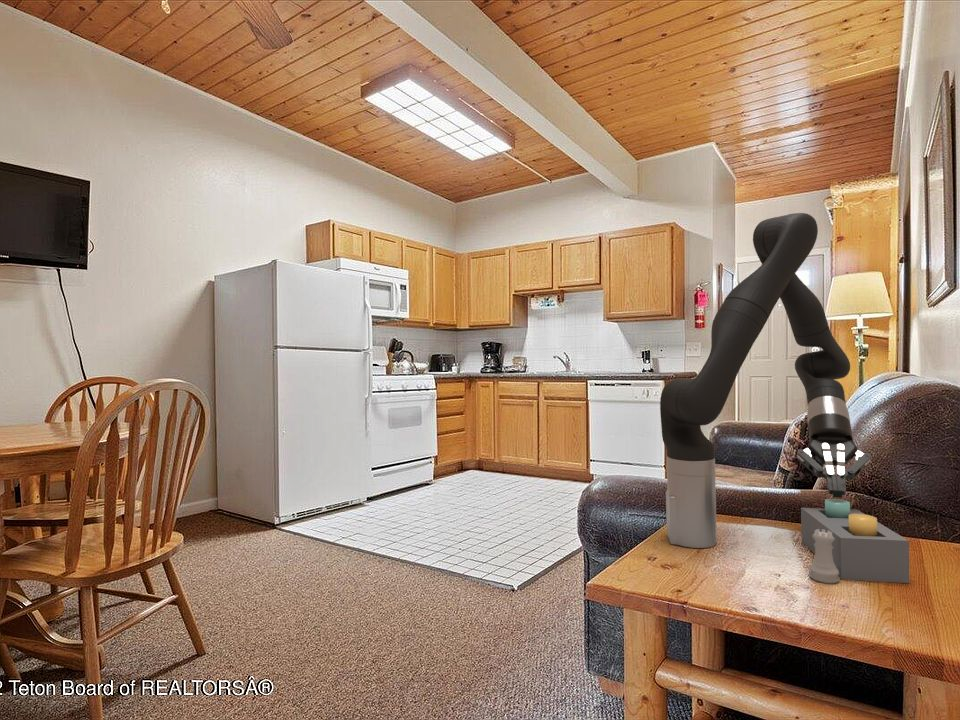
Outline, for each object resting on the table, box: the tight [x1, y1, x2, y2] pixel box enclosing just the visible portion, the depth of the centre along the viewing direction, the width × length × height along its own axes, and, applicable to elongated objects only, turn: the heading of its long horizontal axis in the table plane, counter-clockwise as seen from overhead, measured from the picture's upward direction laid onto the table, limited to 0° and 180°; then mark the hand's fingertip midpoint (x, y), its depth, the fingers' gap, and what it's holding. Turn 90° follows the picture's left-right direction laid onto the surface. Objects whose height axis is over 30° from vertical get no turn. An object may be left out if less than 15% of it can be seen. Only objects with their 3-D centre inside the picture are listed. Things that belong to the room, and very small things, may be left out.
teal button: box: [824, 498, 851, 519], centre depth 103 cm, size 4×4×4 cm
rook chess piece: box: [808, 529, 841, 585], centre depth 91 cm, size 4×4×8 cm
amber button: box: [849, 513, 878, 537], centre depth 94 cm, size 4×4×4 cm
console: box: [800, 507, 911, 584], centre depth 99 cm, size 10×18×7 cm, turn 168°
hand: (837, 495), depth 103 cm, fingers closed
